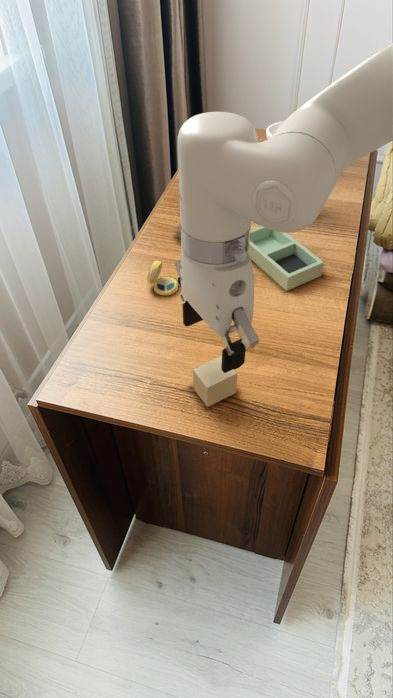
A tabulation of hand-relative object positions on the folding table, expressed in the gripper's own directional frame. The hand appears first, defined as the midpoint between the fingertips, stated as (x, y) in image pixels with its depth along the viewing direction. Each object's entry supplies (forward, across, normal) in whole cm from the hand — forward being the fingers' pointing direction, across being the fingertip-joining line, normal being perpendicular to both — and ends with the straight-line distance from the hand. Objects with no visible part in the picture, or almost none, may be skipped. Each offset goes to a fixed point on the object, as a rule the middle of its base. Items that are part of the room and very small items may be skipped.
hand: (212, 343), depth 67 cm
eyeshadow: (+10, +25, -5) cm, 27 cm away
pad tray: (+10, +20, -27) cm, 35 cm away
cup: (+10, +48, -50) cm, 70 cm away
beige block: (+10, 0, 0) cm, 10 cm away
